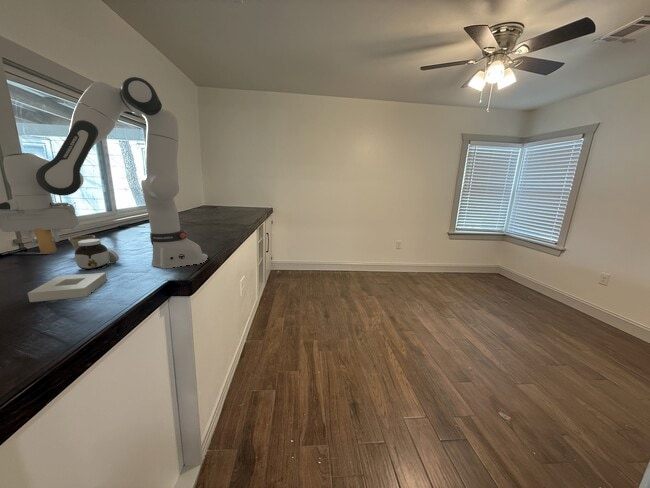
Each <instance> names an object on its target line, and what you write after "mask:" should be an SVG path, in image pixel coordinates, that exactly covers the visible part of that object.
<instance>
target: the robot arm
mask: <svg viewBox="0 0 650 488" xmlns="http://www.w3.org/2000/svg"><path fill="white" fill-rule="evenodd" d="M123 113H124V114H127V115H131V116H132V117H137V118H143V119H145V122H146V123H145V124H146V133H145V134H146V137H145V150H144V151H145V153H144V156H145V166H146V167H145V168H146V174H145V175H144V176H143V178H142V179H141V184H140V185H141V190H142V196H143V200H144V204H145V208H146V210H147V216H148V222H149V227H150V233H149V237H150V243H151V246H152V261H151V266H153V267H155V268H156V267H157V268H160V269H162V270H163V269H164V270H165V269H166V268H167V269H173V267H175V268H180V266H182V267H187V266H186V265H190V266H194V265H193V264H197V265H201V264H200V263H202V264H204V263H206V262H207V261H208V259H209V258H208V257H209V256H208V254H207V253H203V251H202V249H201V246H200V245H199V244H198V243H196V242H194V241H192V240H190V239H188V237H187V231H186V230H182V229H181V224H180V217H179V211H178V209H177V206H176V202H175V197H176V196H177V195H178V194H179V191H180V185H179V170H178V149H179V124H178V118H177V117H176V115H175V114H174V113H172V112H171V111H169V110H167V109H164V108H163V104H162V102H161V100H160V97H159V96H158V94H157V92H156V89H155V88H154V87H153V85H152V84H151V83H150V82H149V81H147V80H146V79H143V78H142V77H137V76H131V77H128V78H126V79H125V80H124V81H123V82H122V84H121V87H120V88H117V87H114V86H112V85H110V84H109V83H107V82H103V81H100V80H99V81H94V82H92V83H91V84H90V85H89V86H88V87H87V88H86V89H85V90H84V92H83V93H82V95H81V96H80V98H79V99H78V102H77V103H76V105H75V107H74V110H73V112H72V116H71V121H70V125H69V130H68V134H67V136H66V137H65V138H64V141H63V143H61V146H60V148H59V150H58V152H57V154H56V155H55V157H54V158H53V159H52V160H51V159H48V158H45V157H42V156H41V155H38V154H37V153H35V152H34V153H33V152H19V153H12V154H8V155H6V156H5V157H4V158H3V170H4V174H5V177H6V181H7V183H8V184H9V186H10V187H11V196H12V199H8V200H3V201H0V231H1V232H3V233H15V232H16V233H17V232H23V233H24V236H25V237H28V239H30V241H31V244H38V242H37V239H36V235H35V232H34V231H35V229H42V230H51V232H52V234H53V237H51V238H50V239H51V242H55V243H58V242H60V235H61V233H62V230H73V229H77V228H78V227H79V226H80V221H79V218H78V217H77V215H76V209H75V207H74V205H73V204H71V203H68V202H54V200H53V196H52V195H55V196H61V197H62V196H70V195H72V194H75V193H76V192H77V191H79V189H80V188H82V186H83V185H84V176H83V174H82V173H81V169H82V167H83V164H84V163H85V161H86V160H87V157H88V155H89V154H90V152H91V150H92V148H93V147H94V146H95V145H96V144H98V143H99V142H101V141H102V140H104V139H106V138H107V137H109V135H110V134H111V132H112V131H113V130H114V128H115V126H116V125H117V123H118V120H119V118H120V116H122V114H123ZM207 258H208V259H207ZM206 260H207V261H206ZM205 261H206V262H205ZM203 262H204V263H203Z"/></svg>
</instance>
